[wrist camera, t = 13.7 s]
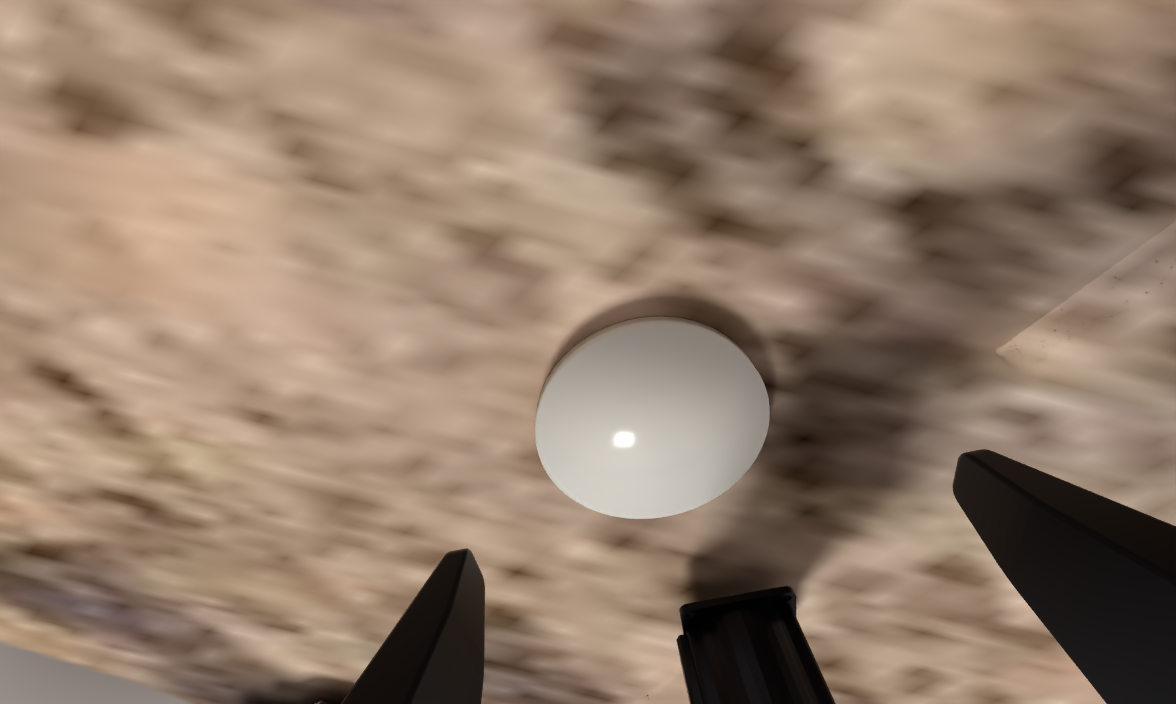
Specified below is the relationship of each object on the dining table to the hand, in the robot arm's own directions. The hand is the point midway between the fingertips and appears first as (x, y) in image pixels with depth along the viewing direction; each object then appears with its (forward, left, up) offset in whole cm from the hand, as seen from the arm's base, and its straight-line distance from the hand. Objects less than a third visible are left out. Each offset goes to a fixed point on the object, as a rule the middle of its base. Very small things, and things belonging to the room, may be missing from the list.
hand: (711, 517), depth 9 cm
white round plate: (0, +8, -13) cm, 15 cm away
